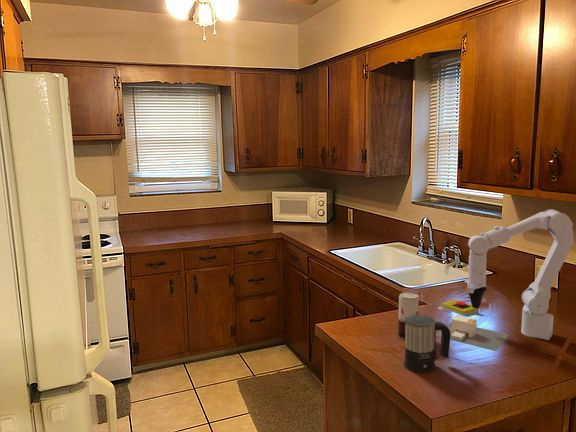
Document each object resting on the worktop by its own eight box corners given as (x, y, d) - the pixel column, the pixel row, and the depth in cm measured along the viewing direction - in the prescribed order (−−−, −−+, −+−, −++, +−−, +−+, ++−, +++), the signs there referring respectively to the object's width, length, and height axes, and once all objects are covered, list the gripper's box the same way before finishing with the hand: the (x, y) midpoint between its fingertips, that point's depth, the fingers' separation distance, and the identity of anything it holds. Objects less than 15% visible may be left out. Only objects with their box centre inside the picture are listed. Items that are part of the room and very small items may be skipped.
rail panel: (509, 337, 161) (509, 331, 161) (495, 353, 149) (495, 347, 149) (451, 324, 174) (451, 318, 174) (434, 338, 162) (434, 332, 161)
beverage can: (421, 338, 162) (422, 296, 160) (405, 341, 160) (406, 299, 157) (410, 331, 168) (411, 291, 166) (394, 334, 166) (395, 293, 163)
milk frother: (416, 376, 136) (417, 327, 134) (384, 354, 151) (385, 310, 148) (454, 366, 142) (456, 319, 139) (420, 346, 156) (421, 303, 154)
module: (476, 333, 163) (476, 319, 162) (471, 337, 159) (472, 323, 158) (456, 328, 167) (456, 314, 166) (451, 332, 164) (451, 318, 163)
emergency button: (467, 310, 177) (436, 299, 190) (466, 321, 178) (435, 309, 191) (483, 305, 182) (451, 294, 195) (482, 315, 183) (451, 305, 195)
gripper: (472, 264, 171) (470, 299, 173) (458, 273, 160) (457, 311, 162) (492, 266, 166) (490, 303, 168) (479, 276, 155) (478, 315, 157)
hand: (475, 307), depth 165 cm, fingers closed
